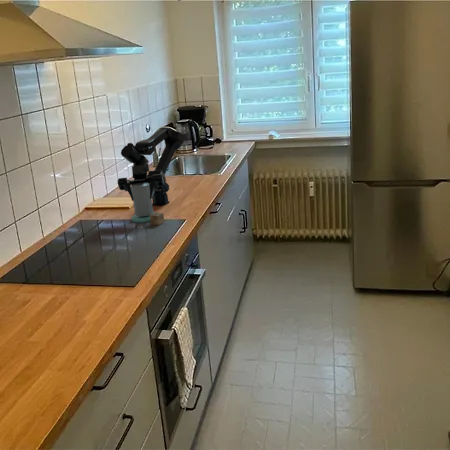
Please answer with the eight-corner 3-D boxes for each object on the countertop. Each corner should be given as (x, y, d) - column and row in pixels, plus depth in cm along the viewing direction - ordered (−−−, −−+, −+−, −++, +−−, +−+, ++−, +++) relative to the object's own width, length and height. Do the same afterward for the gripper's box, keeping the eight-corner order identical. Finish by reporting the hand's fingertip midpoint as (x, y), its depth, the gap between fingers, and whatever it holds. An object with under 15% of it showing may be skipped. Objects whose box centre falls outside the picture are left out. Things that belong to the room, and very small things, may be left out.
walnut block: (150, 224, 207) (149, 215, 206) (156, 221, 210) (154, 212, 209) (159, 225, 205) (157, 215, 204) (164, 222, 209) (163, 212, 207)
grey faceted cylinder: (131, 215, 214) (127, 186, 210) (142, 210, 220) (138, 182, 216) (146, 216, 210) (142, 187, 206) (156, 211, 217) (152, 182, 213)
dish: (126, 221, 214) (126, 218, 213) (141, 213, 223) (141, 211, 222) (148, 223, 209) (147, 220, 208) (162, 215, 218) (162, 212, 217)
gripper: (114, 159, 211) (115, 191, 204) (159, 155, 212) (161, 187, 205) (119, 174, 221) (120, 205, 214) (162, 169, 222) (165, 200, 215)
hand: (141, 199), depth 212 cm, fingers closed on grey faceted cylinder, 7 cm apart
